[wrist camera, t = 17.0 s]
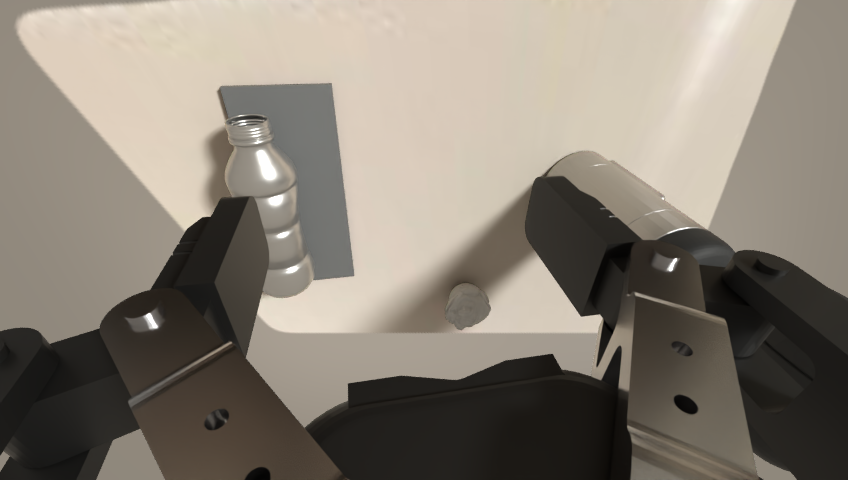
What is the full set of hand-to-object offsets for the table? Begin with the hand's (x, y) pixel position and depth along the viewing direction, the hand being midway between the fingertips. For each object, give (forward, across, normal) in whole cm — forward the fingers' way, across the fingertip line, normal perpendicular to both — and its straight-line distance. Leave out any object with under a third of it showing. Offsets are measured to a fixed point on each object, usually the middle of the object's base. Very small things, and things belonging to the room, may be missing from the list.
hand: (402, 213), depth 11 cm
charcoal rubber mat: (+30, +8, +15) cm, 35 cm away
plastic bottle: (+27, +11, +25) cm, 38 cm away
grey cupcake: (+30, -12, +32) cm, 46 cm away
